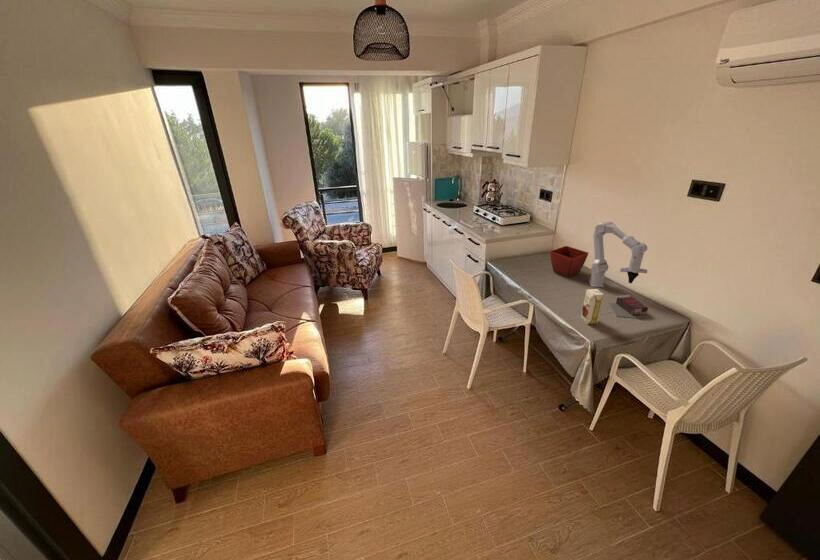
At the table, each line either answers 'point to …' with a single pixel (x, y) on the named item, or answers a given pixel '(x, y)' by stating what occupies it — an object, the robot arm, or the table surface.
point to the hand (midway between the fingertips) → (630, 282)
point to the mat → (622, 311)
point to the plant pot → (567, 260)
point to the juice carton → (592, 306)
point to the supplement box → (631, 305)
